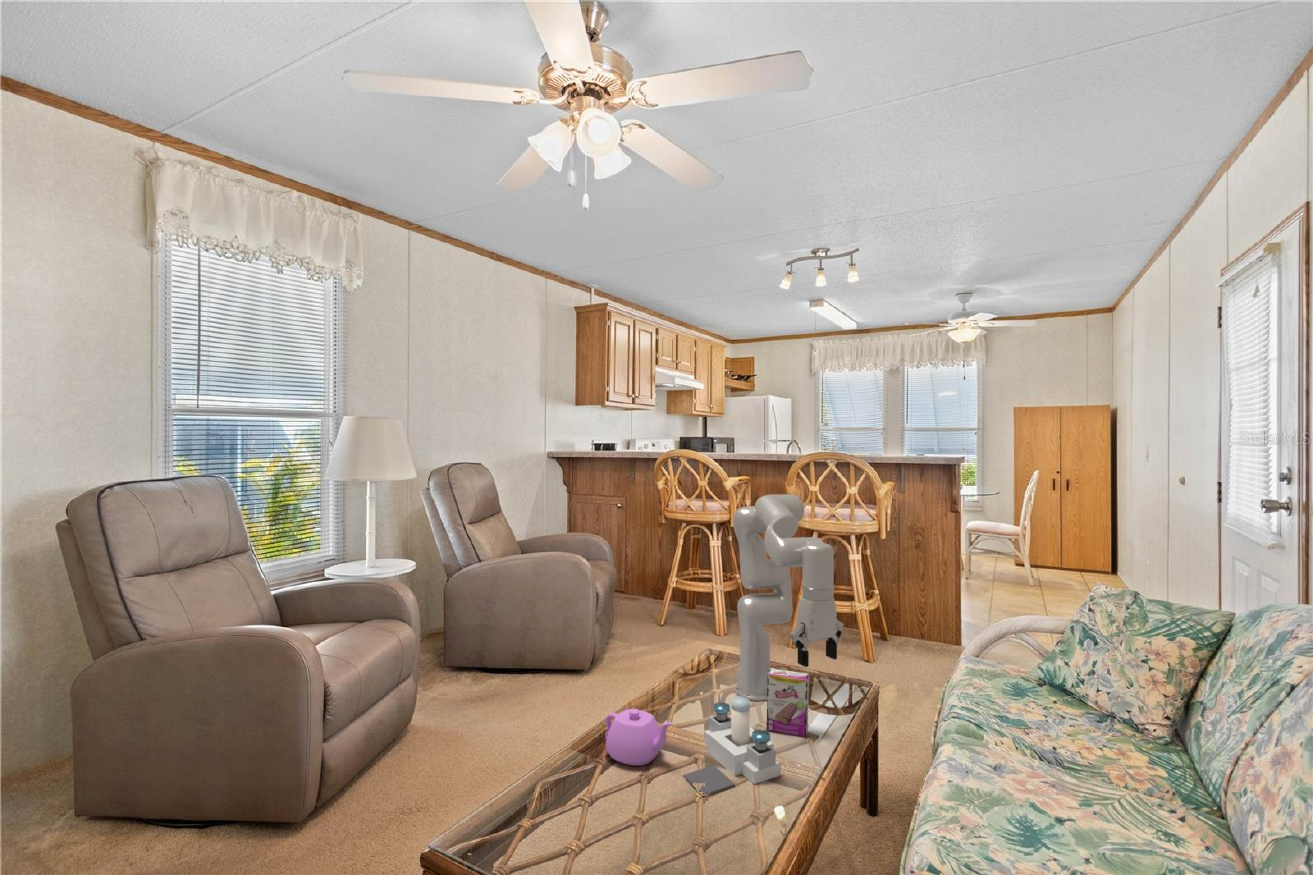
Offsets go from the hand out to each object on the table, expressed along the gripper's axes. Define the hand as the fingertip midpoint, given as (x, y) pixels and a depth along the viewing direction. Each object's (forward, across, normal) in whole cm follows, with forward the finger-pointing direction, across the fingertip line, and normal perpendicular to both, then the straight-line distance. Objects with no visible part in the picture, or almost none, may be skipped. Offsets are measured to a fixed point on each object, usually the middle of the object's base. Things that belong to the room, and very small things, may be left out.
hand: (817, 661), depth 152 cm
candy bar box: (+27, -7, -18) cm, 33 cm away
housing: (+27, +14, -14) cm, 33 cm away
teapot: (+27, +36, -27) cm, 53 cm away
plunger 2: (+22, +14, -5) cm, 26 cm away
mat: (+27, +27, -9) cm, 39 cm away
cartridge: (+27, +14, -14) cm, 33 cm away
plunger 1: (+22, +13, -22) cm, 34 cm away
